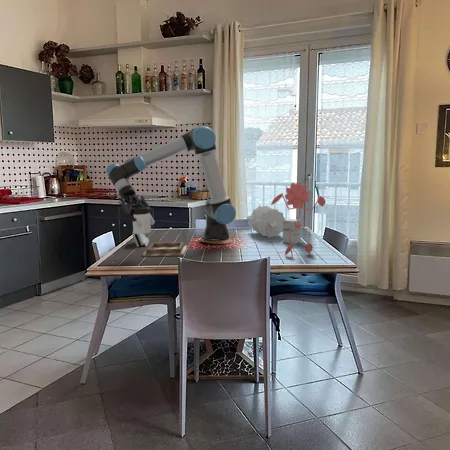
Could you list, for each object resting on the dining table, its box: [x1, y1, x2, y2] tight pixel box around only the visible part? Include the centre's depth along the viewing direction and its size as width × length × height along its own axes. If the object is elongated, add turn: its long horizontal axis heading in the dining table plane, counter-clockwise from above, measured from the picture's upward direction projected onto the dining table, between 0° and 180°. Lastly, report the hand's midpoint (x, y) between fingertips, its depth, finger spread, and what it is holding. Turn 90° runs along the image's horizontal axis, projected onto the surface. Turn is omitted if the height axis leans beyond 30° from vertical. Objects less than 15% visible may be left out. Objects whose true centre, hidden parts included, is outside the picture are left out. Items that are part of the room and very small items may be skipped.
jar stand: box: [142, 241, 188, 257], centre depth 223 cm, size 20×19×3 cm
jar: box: [132, 206, 152, 235], centre depth 212 cm, size 9×8×12 cm
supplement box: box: [282, 218, 302, 245], centre depth 239 cm, size 7×7×13 cm
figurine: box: [270, 181, 326, 259], centre depth 209 cm, size 15×26×35 cm, turn 103°
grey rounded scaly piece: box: [246, 205, 286, 239], centre depth 262 cm, size 18×18×25 cm
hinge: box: [132, 231, 150, 248], centre depth 243 cm, size 17×5×10 cm, turn 4°
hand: (146, 224), depth 210 cm, fingers closed on jar, 7 cm apart
